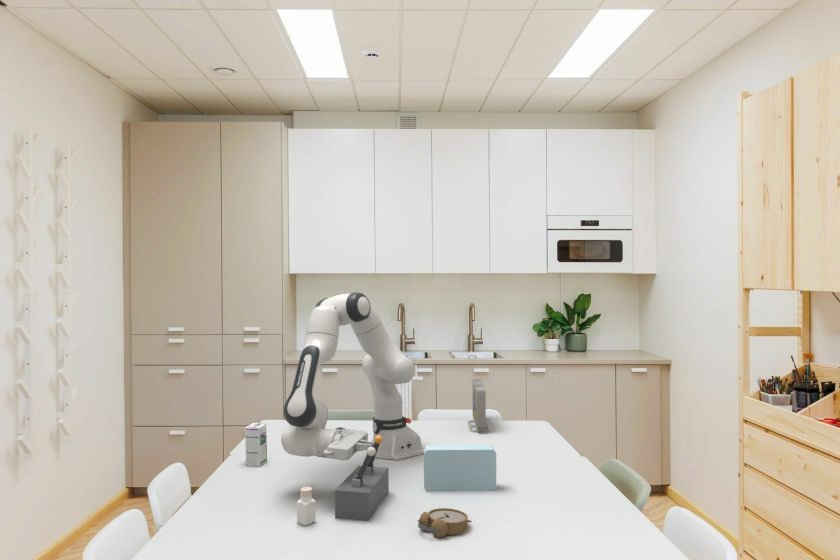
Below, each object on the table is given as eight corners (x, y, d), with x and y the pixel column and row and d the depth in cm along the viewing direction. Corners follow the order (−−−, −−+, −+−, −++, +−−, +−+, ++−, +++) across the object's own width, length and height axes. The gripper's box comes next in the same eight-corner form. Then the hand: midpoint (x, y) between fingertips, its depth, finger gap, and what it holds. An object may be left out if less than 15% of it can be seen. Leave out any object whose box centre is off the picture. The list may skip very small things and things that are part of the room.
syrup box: (260, 467, 212) (259, 427, 212) (245, 466, 213) (244, 426, 213) (267, 462, 217) (267, 423, 217) (252, 461, 219) (252, 422, 218)
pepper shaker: (307, 518, 167) (307, 485, 167) (316, 521, 165) (316, 488, 165) (296, 522, 164) (295, 489, 164) (305, 526, 162) (305, 492, 162)
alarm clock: (477, 518, 161) (436, 522, 151) (475, 536, 160) (433, 542, 151) (450, 505, 169) (409, 509, 160) (448, 523, 169) (407, 527, 160)
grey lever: (351, 482, 171) (367, 446, 169) (354, 479, 173) (370, 444, 172) (359, 486, 170) (375, 451, 169) (362, 483, 173) (378, 448, 172)
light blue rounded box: (493, 484, 194) (493, 444, 194) (496, 490, 188) (496, 449, 188) (423, 484, 194) (423, 444, 194) (424, 491, 188) (424, 450, 188)
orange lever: (363, 470, 181) (374, 435, 180) (365, 467, 184) (377, 432, 183) (370, 473, 181) (382, 438, 180) (373, 470, 183) (384, 436, 182)
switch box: (335, 518, 167) (334, 483, 167) (358, 490, 189) (358, 459, 189) (368, 521, 165) (368, 485, 165) (388, 492, 187) (388, 461, 187)
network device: (490, 434, 254) (490, 388, 254) (470, 434, 254) (470, 388, 254) (485, 419, 279) (485, 378, 279) (466, 419, 279) (466, 378, 279)
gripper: (318, 442, 175) (362, 445, 172) (342, 425, 195) (382, 427, 192) (318, 463, 175) (363, 466, 172) (342, 444, 195) (382, 447, 192)
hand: (373, 446), depth 182 cm, fingers closed, pressing on orange lever
